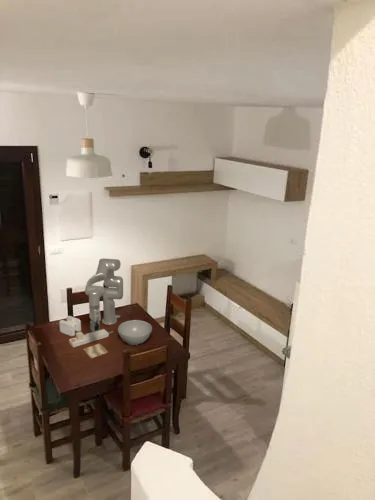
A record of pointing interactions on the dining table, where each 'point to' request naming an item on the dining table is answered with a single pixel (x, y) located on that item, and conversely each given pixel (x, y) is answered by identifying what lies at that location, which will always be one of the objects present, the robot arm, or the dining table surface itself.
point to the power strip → (88, 337)
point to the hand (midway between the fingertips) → (95, 328)
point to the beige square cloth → (95, 350)
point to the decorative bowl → (134, 331)
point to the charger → (93, 326)
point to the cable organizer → (70, 326)
